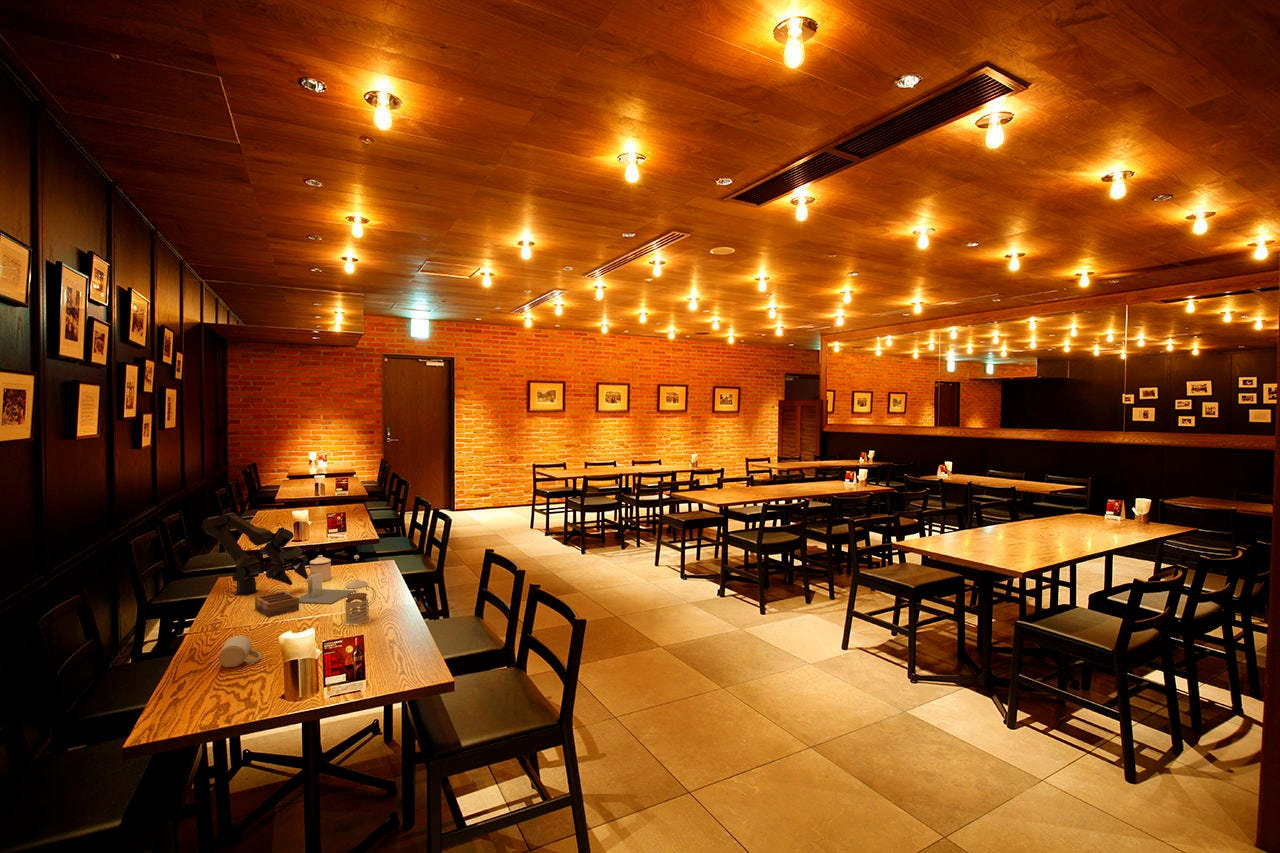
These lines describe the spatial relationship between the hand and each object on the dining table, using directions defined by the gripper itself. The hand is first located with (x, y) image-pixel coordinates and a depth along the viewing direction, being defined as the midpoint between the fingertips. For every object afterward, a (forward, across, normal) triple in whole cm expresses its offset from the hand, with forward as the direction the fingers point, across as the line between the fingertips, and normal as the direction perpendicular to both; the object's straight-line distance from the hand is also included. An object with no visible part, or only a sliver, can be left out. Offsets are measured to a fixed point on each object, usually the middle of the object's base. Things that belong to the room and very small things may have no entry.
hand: (299, 581), depth 257 cm
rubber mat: (+12, +1, -3) cm, 13 cm away
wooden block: (+9, 0, -1) cm, 9 cm away
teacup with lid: (-2, +23, +12) cm, 26 cm away
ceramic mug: (+27, -65, -18) cm, 72 cm away
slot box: (+7, -18, +2) cm, 19 cm away
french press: (+35, -23, -26) cm, 50 cm away
